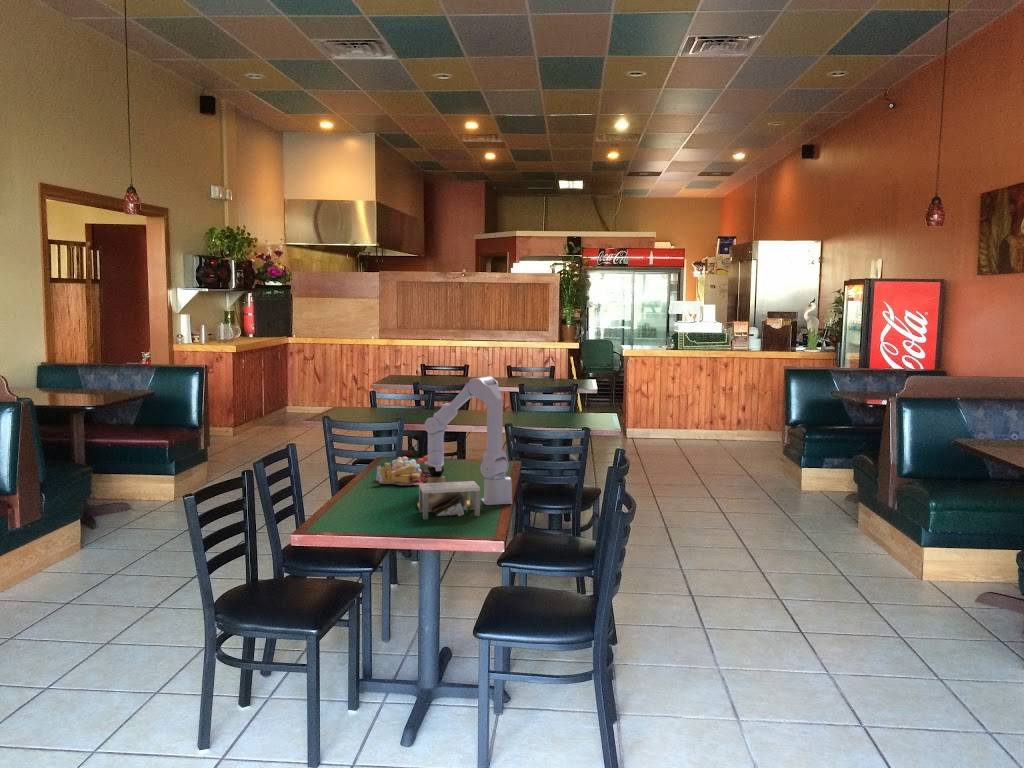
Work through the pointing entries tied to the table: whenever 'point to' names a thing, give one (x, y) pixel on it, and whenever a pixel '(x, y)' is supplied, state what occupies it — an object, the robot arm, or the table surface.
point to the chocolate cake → (449, 505)
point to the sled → (439, 496)
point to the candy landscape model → (403, 472)
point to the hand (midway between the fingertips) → (435, 486)
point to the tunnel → (449, 487)
